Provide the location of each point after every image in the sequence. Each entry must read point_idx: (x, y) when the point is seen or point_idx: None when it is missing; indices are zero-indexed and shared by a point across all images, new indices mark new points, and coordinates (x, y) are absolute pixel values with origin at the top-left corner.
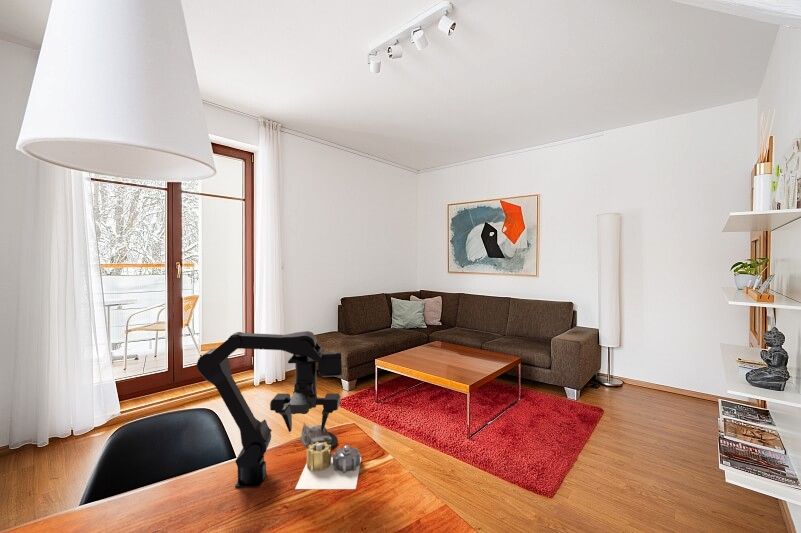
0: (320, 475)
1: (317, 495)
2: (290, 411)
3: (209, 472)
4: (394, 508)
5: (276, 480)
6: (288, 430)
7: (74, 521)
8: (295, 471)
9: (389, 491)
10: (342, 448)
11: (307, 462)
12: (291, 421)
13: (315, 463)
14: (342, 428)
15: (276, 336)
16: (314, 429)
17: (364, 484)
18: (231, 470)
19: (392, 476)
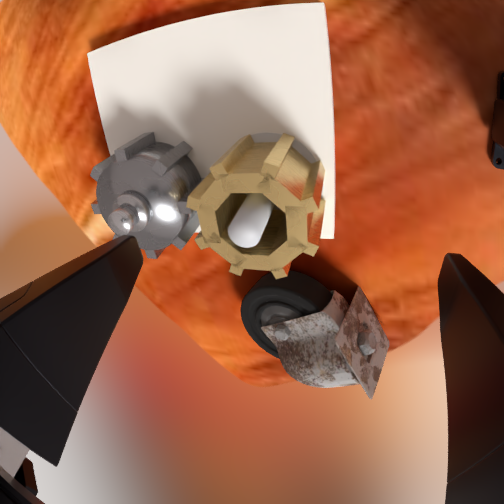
0: (237, 104)
1: (224, 11)
2: (463, 477)
3: None
4: (17, 39)
5: (442, 109)
6: (468, 262)
7: None
8: (378, 166)
9: (36, 94)
10: (166, 243)
11: (317, 170)
12: (449, 363)
13: (267, 152)
14: (266, 379)
15: None
16: (326, 367)
17: (93, 105)
18: None
19: (49, 157)
